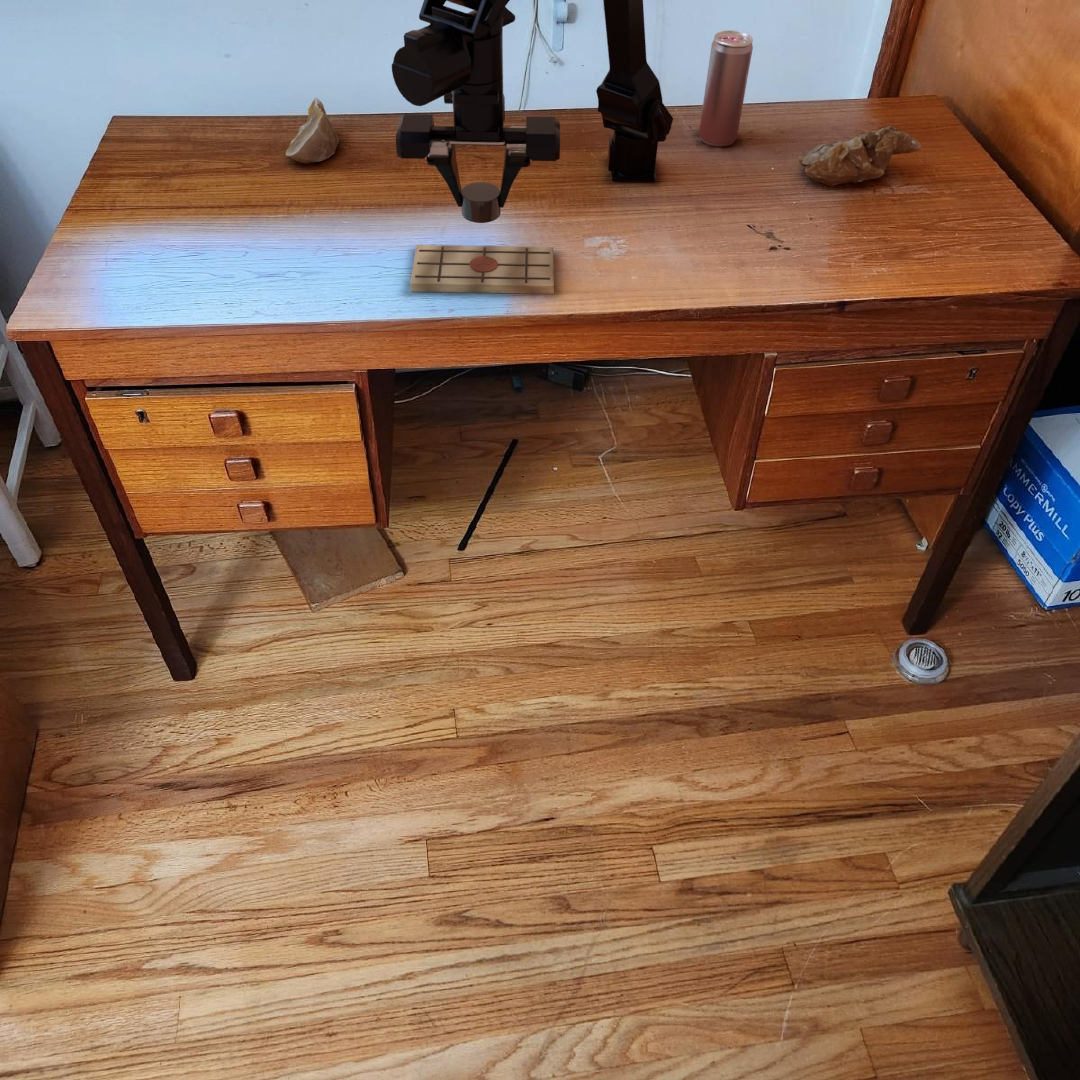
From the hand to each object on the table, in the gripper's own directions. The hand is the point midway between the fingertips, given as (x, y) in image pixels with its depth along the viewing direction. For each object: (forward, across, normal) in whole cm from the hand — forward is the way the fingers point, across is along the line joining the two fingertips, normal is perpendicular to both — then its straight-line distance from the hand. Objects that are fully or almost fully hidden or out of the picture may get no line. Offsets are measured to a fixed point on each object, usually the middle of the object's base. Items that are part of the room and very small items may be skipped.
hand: (481, 205), depth 117 cm
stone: (+9, +27, -33) cm, 44 cm away
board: (+9, 0, 0) cm, 9 cm away
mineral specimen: (+9, -54, -27) cm, 61 cm away
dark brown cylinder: (+1, 0, 0) cm, 1 cm away
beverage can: (+9, -35, -38) cm, 53 cm away
